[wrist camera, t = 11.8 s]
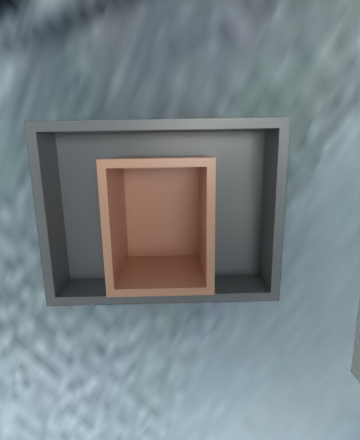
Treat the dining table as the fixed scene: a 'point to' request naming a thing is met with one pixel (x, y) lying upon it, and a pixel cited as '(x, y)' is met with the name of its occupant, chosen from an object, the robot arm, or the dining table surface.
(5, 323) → the dining table surface
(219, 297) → the grey tray
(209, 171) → the small crate
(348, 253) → the dining table surface
